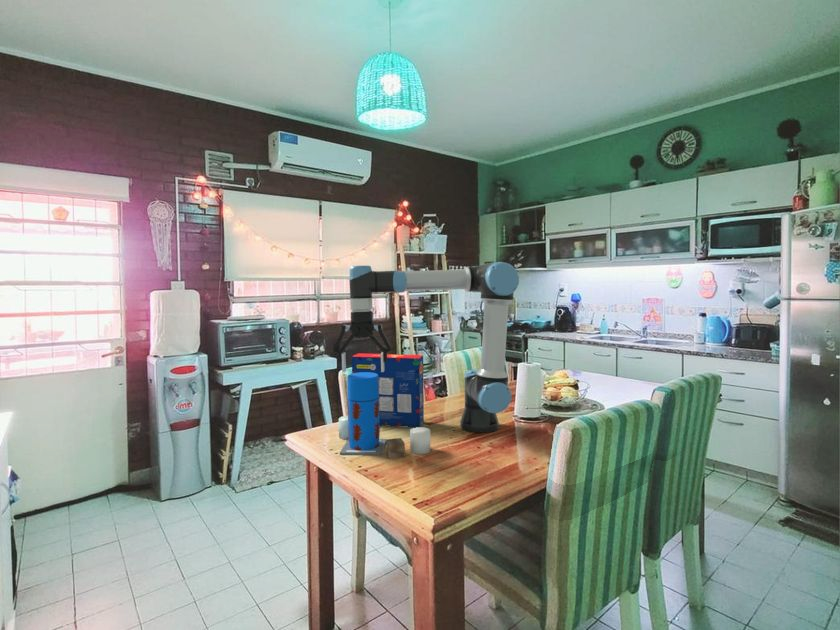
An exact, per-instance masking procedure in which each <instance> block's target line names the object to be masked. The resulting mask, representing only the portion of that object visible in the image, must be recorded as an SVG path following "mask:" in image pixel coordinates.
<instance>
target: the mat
mask: <svg viewBox="0 0 840 630" xmlns="http://www.w3.org/2000/svg"><path fill="white" fill-rule="evenodd" d="M386 439H387V438H379V446H378V447H377V448H375V449H372V450H365V451H359V450H354V449H351V448H350V446H349V439H348V440H346V442H345V444H344V445H343V447H342V448H341V450H340V451H339V455H345V456H346V455H348V456H351V455H352V456H353V455H355V456H357V455H358V456H361V455H362V456H381V455H382V453H383V450H384V448H385V445H386V444H387V440H386Z"/></svg>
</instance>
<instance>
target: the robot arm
mask: <svg viewBox="0 0 840 630" xmlns="http://www.w3.org/2000/svg"><path fill="white" fill-rule="evenodd" d="M348 282H349V297H350V298H349V299H350V300H349V303H350V306H349V307H350V310H351V312H350V325H347V324H343V325H341V332H340V334H339V336H338V338H337V340H336V343H335V345H334V347H333V348H332V350H333V352H335V353H337V354H338V362H339V363H341V369H342V370H341V372H342V373H346V372H347V361H346V358H347V357H346V352H344V351H345V350H346V349H347V347H348V346H349V345H350V343H352V342H353V340H354V339H355V338H358V339H360V338H364V339H365V338H366V339H367V338H369V339H370V340H371V341H372V342H374V344H375V345H376V346H377V347H378V348H379V350H380V351H381V353H380V354H381V372H384V371H385V370H384V362H387V354H388V352H391V351H392V350H393V347H392V345H391V343H390V341H389V339H388V337H387V335H386V334H385V332H384V328H383V324H382V323H379V324H374V316H373V315H374V314H373V311H372V310H373V294H377V293H378V294H379V293H380V294H382V293H383V294H389V293H390V294H391V293H395V294H398V293H404V292H416V291H421V292H423V291H447V290H448V291H449V290H453V291H454V290H464V291H465V292H468V293H469V292H473V293H480V300H481V301H482V302H483V305H484V308H483V323H482V326H483V327H482V337H481V338H482V339H481V342H482V343H481V355H480V356H481V359H480V368H479V369H477V368H476V369H467V370H466V371H465V373H464V378H463V379H464V409H463V411H462V414H461V418H460V420H459V423H460V424H459V426H460V428H461V429H463V430H464V431H466V432H467V431H468V432H472V433H481V434H482V433H491V432H495V431H497V430H498V429H499V420H498V417H497V414H499V413H501V412H503V411H505V410H506V409H507V408H508V407H509V406H510V403H511V401H512V392H511V389H510V387H508V386H509V385H508V384H509V375H508V374H507V372H506V370H505V367H506V366H505V365H506V364H505V363H506V351H507V350H506V348H507V347H506V346H507V335H508V334H507V333H508V318H509V305H510V304H511V303H513V301H514V295H515V294H514V292H515V291H516V290H517V289H518V286H519V282H520V277H519V273H518V270H517V269H516V268H515V267H514V266H513V265H512V264H511V263H509V262H504V261H503V262H502V261H495V262H490V263H484V264H481V265H480V264H479V265H475V266H465V267H464V268H463V269H438V270H433V269H432V270H405V271H404V270H385V271H384V270H379V271H377V270H372V267H371V265H352V266H350V268H349V281H348ZM349 330H350V331H351V332H352V333H351V335H350V336H349V337H348V339H347V340H346V341H345V342H344V343H343V340H344V338H345V335H346V334H347V332H349ZM374 330H375V331H376V332H378V334H379V336H380V337H381V339H382V341H383V343H384V344H383V343H382V342H381V341H380V339H378V338H377V336H376V335H375V334H374V333H373V331H374ZM342 343H343V345H342V346H341V344H342ZM340 346H341V347H340Z"/></svg>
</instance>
